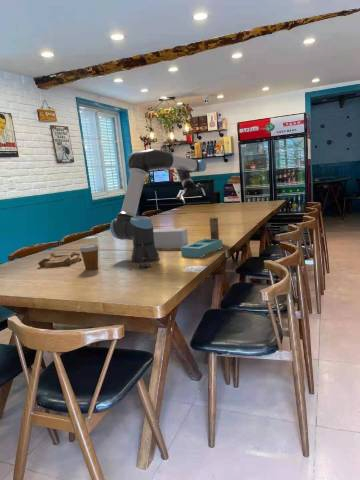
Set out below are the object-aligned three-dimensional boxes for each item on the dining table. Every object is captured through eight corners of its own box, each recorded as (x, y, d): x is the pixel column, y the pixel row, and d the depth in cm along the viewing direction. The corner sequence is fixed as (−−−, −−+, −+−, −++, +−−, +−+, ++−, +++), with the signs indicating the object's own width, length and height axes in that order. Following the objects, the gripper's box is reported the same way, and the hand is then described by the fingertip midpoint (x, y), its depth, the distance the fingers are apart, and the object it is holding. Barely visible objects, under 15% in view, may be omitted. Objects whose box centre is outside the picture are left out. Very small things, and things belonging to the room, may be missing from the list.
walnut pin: (216, 244, 214) (214, 218, 211) (209, 244, 217) (207, 218, 214) (220, 243, 217) (219, 217, 215) (213, 242, 220) (212, 217, 218)
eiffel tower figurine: (162, 265, 178) (159, 239, 176) (158, 270, 168) (155, 243, 166) (134, 266, 181) (131, 241, 178) (128, 271, 171) (125, 245, 168)
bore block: (199, 257, 184) (198, 248, 183) (181, 256, 191) (180, 247, 190) (222, 248, 203) (221, 239, 202) (205, 246, 210) (204, 238, 209)
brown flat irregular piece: (29, 267, 197) (27, 259, 196) (61, 257, 217) (60, 249, 217) (59, 269, 186) (58, 260, 185) (90, 258, 206) (88, 250, 205)
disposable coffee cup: (82, 267, 184) (79, 245, 182) (100, 265, 187) (97, 243, 185) (82, 272, 175) (79, 248, 173) (101, 269, 178) (98, 246, 176)
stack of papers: (188, 244, 223) (187, 228, 221) (183, 248, 213) (182, 231, 211) (142, 245, 233) (141, 229, 231) (136, 249, 223) (134, 232, 221)
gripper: (207, 183, 235) (214, 195, 216) (173, 197, 236) (177, 210, 218) (204, 173, 231) (211, 184, 213) (169, 187, 232) (173, 199, 214)
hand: (194, 197), depth 215 cm, fingers open, 13 cm apart
